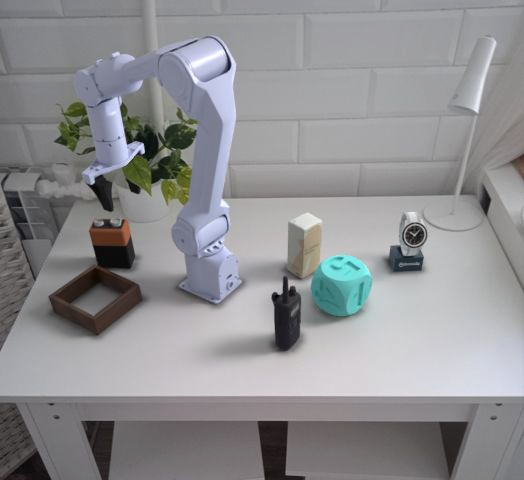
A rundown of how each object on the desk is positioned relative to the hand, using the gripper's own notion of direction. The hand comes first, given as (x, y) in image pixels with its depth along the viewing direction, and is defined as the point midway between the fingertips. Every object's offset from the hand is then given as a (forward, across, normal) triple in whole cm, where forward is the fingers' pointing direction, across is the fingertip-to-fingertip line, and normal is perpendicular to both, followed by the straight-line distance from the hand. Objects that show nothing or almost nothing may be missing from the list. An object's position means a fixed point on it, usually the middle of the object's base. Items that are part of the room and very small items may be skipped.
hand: (122, 201), depth 122 cm
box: (+11, -12, +34) cm, 38 cm away
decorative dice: (+10, -7, +45) cm, 47 cm away
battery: (+11, +6, +2) cm, 12 cm away
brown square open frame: (+10, +18, +8) cm, 22 cm away
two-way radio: (+10, +7, +42) cm, 44 cm away
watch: (+10, -24, +51) cm, 57 cm away
